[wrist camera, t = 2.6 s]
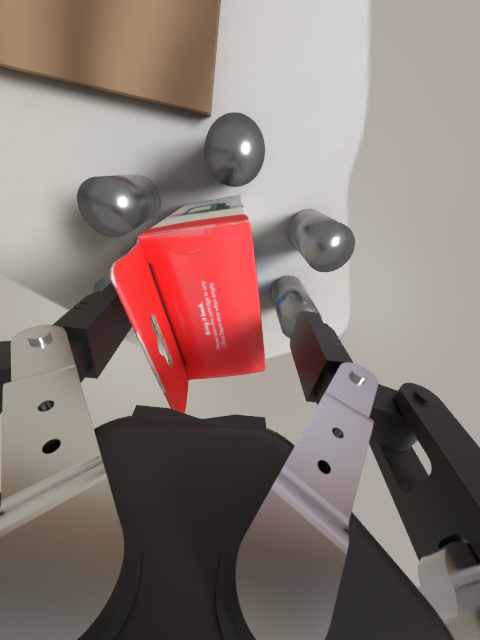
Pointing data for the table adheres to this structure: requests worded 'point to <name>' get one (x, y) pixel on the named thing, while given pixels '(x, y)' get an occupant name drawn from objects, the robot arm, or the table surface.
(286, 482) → the robot arm
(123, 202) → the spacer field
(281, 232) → the table surface
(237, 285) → the ink box
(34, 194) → the table surface
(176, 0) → the walnut board
